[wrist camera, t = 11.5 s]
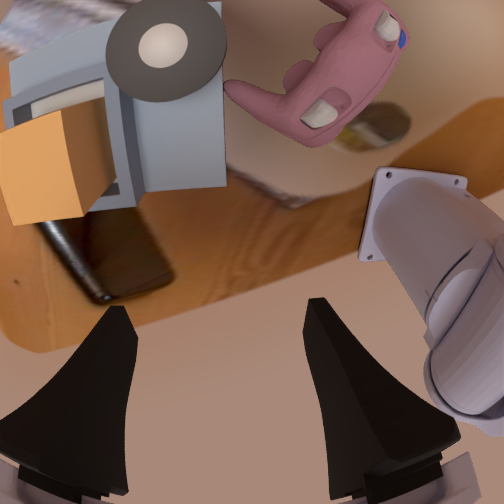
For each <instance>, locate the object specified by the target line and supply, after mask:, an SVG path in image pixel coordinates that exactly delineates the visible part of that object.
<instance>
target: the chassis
mask: <svg viewBox="0 0 504 504" xmlns="http://www.w3.org/2000/svg"><path fill="white" fill-rule="evenodd" d="M207 3H209V4H210V5H211V6H212V7H213V8H214V9H215V10H216V11H217V12H218V14H219V15H220V17H221V19H222V5H221V2H207ZM119 18H120V17H119ZM119 18H116V19H112V20H109V21H105V22H102V23H99V24H96V25H92V26H90V27H87V28H84V29H81V30H78V31H75V32H73V33H70V34H68V35H65V36H63V37H60V38H58V39H56V40H53V41H51V42H49V43H46V44H44V45H42V46H40V47H38V48H36V49H34V50H32V51H30V52H28V53H26V54H24V55H22V56H20V57H18V58H17V59H15V60H13V61H11V62H9V70H10V85H11V96H12V97H11V98H9V99H7V100H5V101H3V111H4V118H5V124H6V130H8V129H10V128H12V127H14V126H16V125H19V124H21V123H23V122H26V121H28V120H31V119H33V118H36V117H38V116H41V115H44V114H46V113H49V112H52V111H55V110H58V109H61V108H65V107H68V106H71V105H74V104H78V103H81V102H85V101H89V100H92V99H96V98H100V97H105V104H106V113H107V120H108V128H109V135H110V141H111V148H112V154H113V159H114V165H115V170H116V175H117V178H116V179H115V180H114V181H113V183H112V184H111V185H110V186H109V187H108V188H107V189H106V190H105V192H104V193H103V194H102V195H101V196H100V197H99V198H98V200H97V201H96V202H95V203H94V204H93V206H92V207H91V208H90V209H89V210H88V211H97V210H106V209H115V208H125V207H135V206H137V205H138V203H139V201H140V200H141V198H142V196H143V195H144V193H145V192H155V191H166V190H178V189H192V188H207V187H226V185H227V173H226V151H225V125H224V94H223V64H222V66H221V68H220V69H219V71H218V72H217V74H216V75H215V76H214V77H213V79H212V80H211V81H210V82H208V83H207V84H206V85H205V86H204V87H202V88H201V89H199V90H197V91H196V92H194V93H192V94H190V95H187V96H185V97H183V98H180V99H177V100H174V101H169V102H159V103H156V102H146V101H141V100H138V99H135V98H133V97H131V96H129V95H127V94H126V93H124V92H123V91H122V90H121V89H119V88H118V86H117V85H116V84H115V83H114V81H113V80H112V78H111V77H110V74H109V72H108V69H107V65H106V58H105V53H106V45H107V41H108V37H109V35H110V33H111V30H112V29H113V27H114V25H115V24H116V22H117V21H118V20H119Z"/></svg>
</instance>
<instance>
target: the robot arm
mask: <svg viewBox="0 0 504 504" xmlns="http://www.w3.org/2000/svg"><path fill="white" fill-rule="evenodd" d="M387 172H389V175H388V176H386V173H387ZM455 180H456V181H455ZM466 186H467V178H466V177H464V176H460V175H454V174H447V173H440V172H432V171H424V170H416V169H407V168H396V167H385V166H380V167H378V168H377V169H376V170H375V174H374V180H373V185H372V191H371V196H370V202H369V207H368V212H367V216H366V221H365V226H364V230H363V235H362V239H361V243H360V248H359V252H358V259H359V261H361V262H371V261H386V260H387V262H388V263H389V265H390V266H391V267H392V269H393V271H394V272H395V274H396V275H397V277H398V278H399V280H400V281H401V283H402V285H403V286H404V288H405V290H406V291H407V293H408V295H409V296H410V298H411V299H412V301H413V303H414V304H415V306H416V308H417V310H418V311H419V313H420V315H421V316H422V318H423V320H424V322H425V323H426V325H427V330H426V333H425V335H424V339H425V341H426V343H427V345H428V347H429V349H430V351H429V353H428V355H427V357H426V360H425V362H424V372H423V373H424V382H425V385H426V389H427V391H428V394H429V396H430V398H431V399H432V401H433V402H434V404H435V405H436V406H437V407H438V409H437V408H435V407H434V406H432V405H430V404H429V403H427V402H426V401H424V400H423V399H421V398H420V397H419V396H417V395H416V394H415V393H413V392H412V391H411V390H409V389H408V388H407V387H405V386H404V385H403V384H401V383H400V382H399V381H398V380H397V379H396V378H394V377H393V376H392V375H391V374H390V373H389V372H388V371H387V370H385V369H384V368H383V367H382V366H381V365H380V364H379V363H378V362H377V361H376V360H375V359H374V358H373V357H372V355H370V353H369V352H368V351H367V350H366V349H365V348H364V347H363V346H362V345H361V343H360V342H359V341H358V340H357V339H356V337H355V336H354V335H353V334H352V333H351V332H350V330H349V329H348V328H347V327H346V325H345V324H344V323H343V321H342V320H341V319H340V317H339V316H338V315H337V314H336V312H335V311H334V310H333V308H332V307H331V305H330V304H329V303H328V301H327V300H326V299H325V298H324V297H322V298H312V299H309V300H308V306H307V311H306V316H305V322H304V328H303V339H304V345H305V351H306V356H307V360H308V363H309V367H310V370H311V374H312V378H313V381H314V385H315V388H316V392H317V395H318V399H319V403H320V408H321V412H322V419H323V426H324V433H325V441H326V450H327V461H328V476H329V494H330V500H335V499H339V498H343V497H347V496H351V495H352V500H351V501H347V502H343V503H339V504H474V503H475V502H477V501H478V500H479V499H481V497H482V496H481V493H480V488H479V485H478V481H477V477H476V474H475V470H474V467H473V464H472V461H471V457H470V454H469V452H465V453H464V454H462V455H460V456H458V457H456V458H455V459H453V460H451V461H449V462H447V463H445V464H443V465H440V462H439V461H440V460H442V458H443V457H442V454H441V451H443V450H445V449H447V448H448V447H450V446H451V445H453V444H455V443H456V442H458V441H459V440H460V438H461V435H460V432H459V429H458V426H457V424H456V421H455V420H457V421H461V422H466V423H470V424H473V425H475V426H476V427H478V428H479V429H481V430H482V431H483V432H484V433H485V434H487V436H490V437H498V436H504V221H503V220H502V219H501V218H500V217H499V216H498V215H496V214H495V213H494V212H493V211H492V210H491V209H489V208H488V207H487V206H486V205H484V204H483V203H482V202H481V201H479V200H478V199H477V198H476V197H474V196H473V195H472V194H470V193H469V192H468V191H467V190H466ZM370 254H371V255H370ZM368 255H370V256H369V257H368ZM137 346H138V336H137V334H136V332H135V330H134V328H133V325H132V323H131V321H130V319H129V316H128V314H127V312H126V309H125V307H124V306H110V307H109V308H108V310H107V311H106V312H105V313H104V315H103V316H102V317H101V319H100V320H99V321H98V323H97V324H96V325H95V326H94V328H93V329H92V330H91V332H90V333H89V334H88V336H87V337H86V338H85V340H84V341H83V342H82V344H81V345H80V346H79V348H78V349H77V350H76V351H75V352H74V354H73V355H72V356H71V357H70V359H69V360H68V361H67V362H66V363H65V365H64V366H63V367H62V368H61V369H60V370H59V371H58V372H57V374H56V375H55V376H54V377H53V378H52V379H51V380H50V381H49V382H48V383H47V384H46V385H45V386H44V387H42V388H41V389H40V390H39V391H38V392H37V393H36V394H35V395H34V396H33V397H31V398H30V399H29V400H28V401H27V402H26V403H24V404H23V405H22V406H21V407H19V408H18V409H17V410H15V411H13V412H12V413H10V414H9V415H7V416H6V417H4V418H3V419H1V420H0V453H1V454H3V455H4V456H6V457H8V458H10V459H11V460H13V461H15V462H17V463H19V464H20V466H19V468H16V467H14V466H12V465H11V464H9V463H7V462H5V461H4V460H2V459H0V504H113V503H109V502H105V501H101V496H105V497H109V493H112V494H116V495H121V496H124V495H125V494H126V493H128V492H129V490H128V484H127V477H126V466H125V450H124V449H125V442H124V441H125V415H126V407H127V401H128V396H129V391H130V386H131V381H132V376H133V372H134V367H135V362H136V355H137Z"/></svg>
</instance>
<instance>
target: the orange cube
mask: <svg viewBox="0 0 504 504" xmlns="http://www.w3.org/2000/svg"><path fill="white" fill-rule="evenodd" d="M116 178H117V175H116V170H115V165H114V159H113V154H112V148H111V141H110V135H109V128H108V120H107V113H106V104H105V97H100V98H96V99H92V100H89V101H85V102H81V103H78V104H74V105H71V106H68V107H65V108H61V109H58V110H55V111H52V112H49V113H46V114H44V115H41V116H38V117H36V118H33V119H31V120H28V121H26V122H23V123H21V124H19V125H16V126H14V127H12V128H10V129H8V130H5V131H3V132H1V133H0V186H1V190H2V193H3V196H4V199H5V202H6V205H7V208H8V211H9V214H10V217H11V219H12V222H13V225H14V226H16V225H22V224H29V223H36V222H43V221H50V220H58V219H65V218H74V217H82V216H84V215H85V214H86V213H87V212H88V210H89V209H90V208H91V207H92V206H93V204H94V203H95V202H96V201H97V200H98V198H99V197H100V196H101V195H102V194H103V193H104V192H105V190H106V189H107V188H108V187H109V186H110V185H111V184H112V183H113V181H114V180H115V179H116Z"/></svg>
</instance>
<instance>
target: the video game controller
mask: <svg viewBox="0 0 504 504" xmlns="http://www.w3.org/2000/svg"><path fill="white" fill-rule="evenodd" d="M320 1H321V2H322V3H324V4H325V5H327V6H329V7H330V8H332V9H333V10H335V11H336V12H338V13H340V14H342V15H343V16H345V17H346V18H347V20H346V21H342V22H337V23H331V24H328V25H326V26H324V27H323V28H322V29H320V30H319V31H318V33H317V34H316V35H315V38H314V46H315V47H316V48H317V49H318V50H319V51H320V53H319V55H318V56H317V58H316V60H315V62H314V63H313V62H311V61H308V60H303V61H300V62H298V63H297V64H295V65H293V66H292V67H291V68H290V69H289V70H288V71H287V73H286V75H285V77H284V81H283V84H284V88H285V90H286V93H287V94H285V95H280V94H275V93H272V92H269V91H266V90H263V89H261V88H259V87H256V86H254V85H251V84H249V83H247V82H244V81H239V80H227V81H225V82H224V83H223V90H224V91H225V93H226V94H227V95H228V97H229V98H230V99H231V100H232V101H234V102H235V103H236V104H238V105H239V106H240V107H242V108H243V109H244V110H246V111H247V112H248V113H250V114H251V115H252V116H254V117H255V118H256V119H257V120H259V121H261V122H262V123H264V124H266V125H267V126H269V127H271V128H273V129H275V130H276V131H278V132H280V133H282V134H284V135H285V136H287V137H289V138H291V139H293V140H295V141H297V142H299V143H301V144H303V145H305V146H306V147H311V148H312V147H313V148H314V147H319V146H322V145H325V144H327V143H329V142H331V141H332V140H333V139H335V138H336V137H337V136H338V135H339V134H340V132H341V131H342V129H343V127H344V125H345V124H347V123H348V122H350V121H351V120H352V119H353V118H354V117H356V116H357V115H358V114H359V113H360V112H361V111H362V110H363V109H364V108H365V107H366V106H367V105H368V104H369V103H370V102H371V101H372V100H373V99H374V98H375V96H376V95H377V94H378V93H379V91H380V90H381V89H382V88H383V86H384V85H385V83H386V82H387V80H388V79H389V78H390V76H391V74H392V72H393V71H394V69H395V67H396V65H397V63H398V61H399V58H400V55H401V53H402V52H403V51H404V50H405V49H406V47H407V45H408V44H409V39H410V36H409V32H408V30H407V29H406V27H405V26H404V24H403V23H402V21H401V20H400V18H399V17H398V15H397V14H396V13H395V12H394V11H393V10H392V9H391V8H390V7H389V6H388V5H387V4H385V3H384V2H382V1H381V0H320Z"/></svg>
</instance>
